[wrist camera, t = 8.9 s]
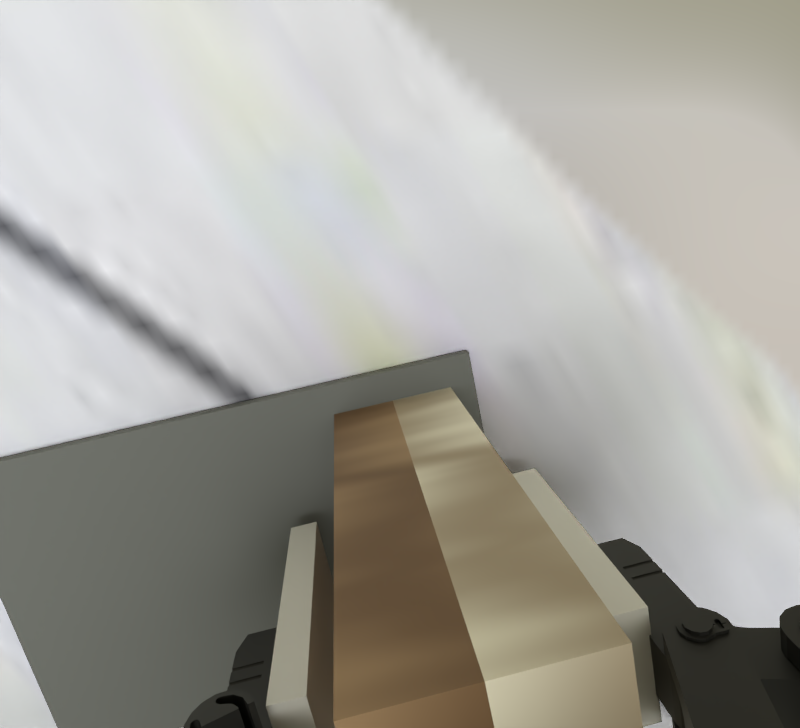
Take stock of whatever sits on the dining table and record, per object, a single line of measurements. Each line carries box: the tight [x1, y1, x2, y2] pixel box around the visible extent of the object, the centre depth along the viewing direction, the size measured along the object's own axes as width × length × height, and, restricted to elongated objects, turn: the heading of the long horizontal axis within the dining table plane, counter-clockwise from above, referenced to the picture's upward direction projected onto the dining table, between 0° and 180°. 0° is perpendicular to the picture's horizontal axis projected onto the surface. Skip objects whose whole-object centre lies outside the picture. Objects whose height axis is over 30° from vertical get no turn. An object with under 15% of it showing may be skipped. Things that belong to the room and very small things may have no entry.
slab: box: [333, 387, 643, 728], centre depth 13 cm, size 4×8×11 cm, turn 12°
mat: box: [0, 350, 484, 728], centre depth 18 cm, size 15×10×1 cm, turn 102°
